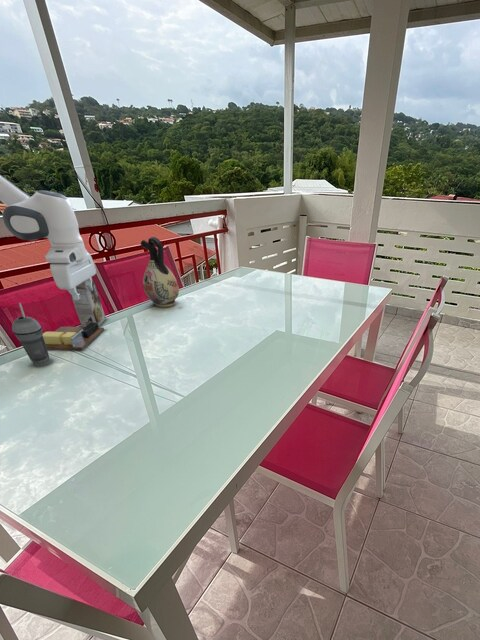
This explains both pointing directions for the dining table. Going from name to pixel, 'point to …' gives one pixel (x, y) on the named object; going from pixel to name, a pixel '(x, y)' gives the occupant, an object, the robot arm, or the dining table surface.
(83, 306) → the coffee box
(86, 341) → the cutting board
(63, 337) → the butter slice
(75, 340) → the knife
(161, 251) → the ceramic jug
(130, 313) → the dining table surface
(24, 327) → the beverage cup
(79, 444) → the dining table surface
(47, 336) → the butter block
